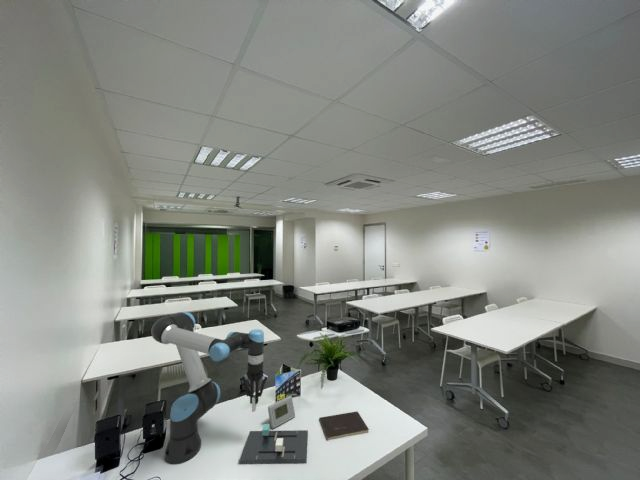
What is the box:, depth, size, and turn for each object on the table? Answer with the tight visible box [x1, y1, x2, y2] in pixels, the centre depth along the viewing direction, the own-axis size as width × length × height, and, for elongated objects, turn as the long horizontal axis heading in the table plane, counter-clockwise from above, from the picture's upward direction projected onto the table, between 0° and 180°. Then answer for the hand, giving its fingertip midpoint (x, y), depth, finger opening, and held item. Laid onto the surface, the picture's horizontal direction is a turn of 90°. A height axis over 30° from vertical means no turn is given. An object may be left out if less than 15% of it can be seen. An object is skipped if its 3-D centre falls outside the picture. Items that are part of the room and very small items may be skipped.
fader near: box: [275, 438, 283, 452], centre depth 116 cm, size 3×4×4 cm
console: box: [238, 429, 309, 465], centre depth 121 cm, size 30×18×2 cm, turn 91°
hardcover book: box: [318, 411, 370, 441], centre depth 136 cm, size 16×23×2 cm
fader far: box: [261, 423, 271, 436], centre depth 126 cm, size 3×4×4 cm
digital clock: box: [267, 395, 296, 430], centre depth 141 cm, size 16×9×11 cm, turn 122°
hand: (253, 409), depth 125 cm, fingers closed
